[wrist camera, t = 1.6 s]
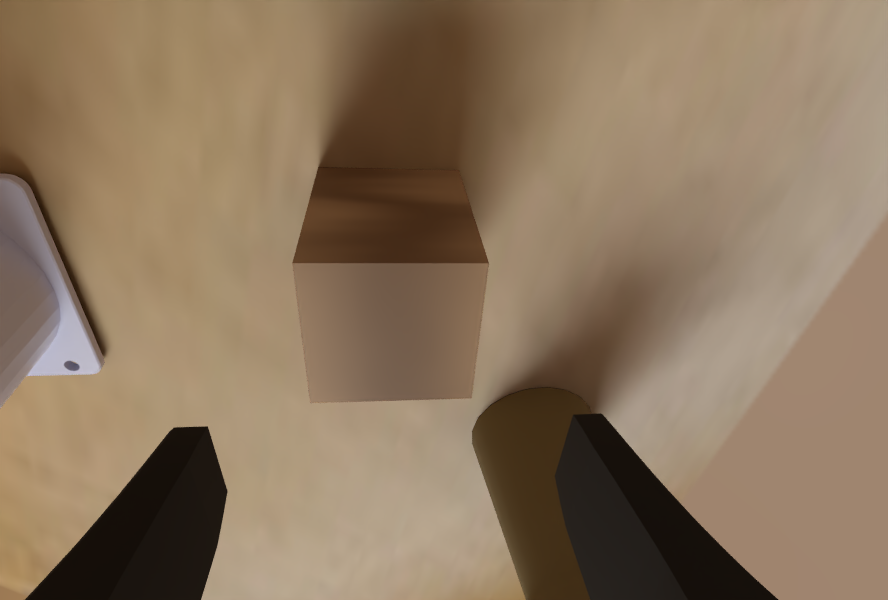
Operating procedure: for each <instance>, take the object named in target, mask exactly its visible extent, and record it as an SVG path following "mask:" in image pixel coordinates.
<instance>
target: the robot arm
mask: <svg viewBox="0 0 888 600" xmlns="http://www.w3.org/2000/svg"><path fill="white" fill-rule="evenodd" d="M72 361H74V362H76V363H78V364H76V363H73V362H72ZM104 363H105V362H104V358H103V356H102V353H101V351H100V348H99V346H98V344H97V341H96V339H95V337H94V334H93V332H92V330H91V327H90V325H89V323H88V320H87V318H86V316H85V313H84V311H83V309H82V306H81V304H80V302H79V299H78V297H77V295H76V292H75V290H74V288H73V285H72V283H71V281H70V278H69V276H68V274H67V271H66V269H65V267H64V264H63V262H62V260H61V257H60V255H59V253H58V250H57V248H56V246H55V243H54V241H53V239H52V236H51V234H50V232H49V229H48V227H47V225H46V222H45V220H44V218H43V215H42V213H41V210H40V208H39V206H38V203H37V201H36V199H35V196H34V194H33V192H32V189H31V188H30V186H29V185H28V183H26V182H25V181H24V180H23V179H22V178H19V177H17V176H15V175H11V174H0V408H1V407H2V406H3V404H4V403H5V402H6V401H7V399H8V398H9V397H10V396H11V394H12V393H13V392H14V391H15V389H16V388H17V387H18V386H19V384H20V383H21V382H22V381H23V379H24V378H25V377H26V376H40V375H85V374H96V373H98V372H99V371H100V370H101V368H102V367H103V365H104ZM555 480H556V485H557V490H558V495H559V500H560V505H561V509H562V513H563V518H564V522H565V526H566V529H567V532H568V535H569V538H570V541H571V544H572V547H573V550H574V553H575V556H576V559H577V562H578V565H579V568H580V571H581V574H582V577H583V580H584V583H585V586H586V589H587V592H588V595H589V597H590V600H778V599H777V598H776V597H775V596H773V595H772V594H771V593H770V592H769V591H768V590H767V589H766V588H765V587H764V586H762V585H761V584H760V583H759V582H758V581H757V580H756V579H755V578H754V577H753V576H752V575H750V574H749V573H748V572H747V571H746V570H745V569H744V568H743V567H742V566H741V565H740V564H739V563H738V562H737V561H736V560H735V559H734V558H733V557H732V556H730V554H728V552H726V550H725V549H724V548H723V547H722V546H720V544H719V543H718V542H717V541H716V540H715V539H714V538H713V537H712V536H711V535H710V534H709V533H708V532H707V531H706V530H705V529H704V528H703V527H702V526H701V525H700V524H699V523H698V522H697V521H696V520H695V519H694V518H693V517H692V516H691V515H690V513H689V512H688V511H687V510H686V509H685V508H684V507H683V506H682V505H681V504H680V503H679V501H678V500H677V499H676V498H675V497H674V496H673V495H672V494H671V493H670V492H669V491H668V489H667V488H666V487H665V486H664V485H663V484H662V483H661V482H660V481H659V479H658V478H657V477H656V476H655V475H654V474H653V473H652V472H651V470H650V469H649V468H648V467H647V466H646V465H645V463H644V462H643V461H642V460H641V459H640V458H639V456H638V455H637V454H636V453H635V452H634V451H633V449H632V448H631V447H630V446H629V445H628V444H627V442H626V441H625V440H624V439H623V438H622V437H621V435H620V434H619V433H618V432H617V431H616V429H615V428H614V427H613V426H612V425H611V424H610V422H609V421H608V420H607V419H606V418H605V417H604V416H603V415H602V414H573V417H572V420H571V423H570V427H569V430H568V433H567V437H566V440H565V443H564V447H563V450H562V453H561V457H560V460H559V463H558V467H557V470H556V473H555ZM226 496H227V488H226V485H225V482H224V479H223V475H222V472H221V469H220V465H219V462H218V459H217V455H216V452H215V449H214V446H213V442H212V439H211V436H210V432H209V429H208V427H177V428H173V429H172V430H171V431H170V432H169V433H168V434H167V435H166V437H165V438H164V439H163V440H162V442H161V443H160V444H159V445H158V447H157V448H156V449H155V451H154V452H153V453H152V454H151V456H150V457H149V458H148V459H147V461H146V462H145V463H144V464H143V466H142V467H141V468H140V469H139V471H138V472H137V473H136V474H135V475H134V477H133V478H132V479H131V480H130V482H129V483H128V484H127V485H126V486H125V488H124V489H123V490H122V491H121V493H120V494H119V495H118V496H117V497H116V499H115V500H114V501H113V502H112V503H111V504H110V506H109V507H108V508H107V509H106V510H105V511H104V513H103V514H102V515H101V516H100V517H99V518H98V520H97V521H96V522H95V523H94V524H93V525H92V527H91V528H90V529H89V530H88V531H87V532H86V534H85V535H84V536H83V537H82V538H81V539H80V540H79V542H78V543H77V544H76V545H75V546H74V547H73V548H72V549H71V551H70V552H69V553H68V554H67V555H66V556H65V557H64V558H63V559H62V560H61V561H60V562H59V564H58V565H57V566H56V567H55V568H54V569H53V570H52V571H51V572H50V573H49V574H48V575H47V577H46V578H45V579H44V580H43V581H42V582H41V583H40V584H39V585H38V586H37V587H36V588H35V589H34V591H33V592H32V593H31V594H30V595H29V596H28V597H27V598H26V599H25V600H201V598H202V594H203V591H204V588H205V585H206V581H207V578H208V575H209V572H210V568H211V565H212V562H213V558H214V555H215V551H216V548H217V544H218V539H219V534H220V529H221V524H222V519H223V513H224V508H225V502H226Z"/></svg>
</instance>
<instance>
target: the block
mask: <svg viewBox="0 0 888 600" xmlns="http://www.w3.org/2000/svg"><path fill="white" fill-rule="evenodd" d="M488 267H489V262H488V259H487V256H486V253H485V250H484V247H483V244H482V240H481V237H480V234H479V231H478V228H477V225H476V222H475V219H474V216H473V213H472V209H471V206H470V203H469V200H468V197H467V194H466V191H465V188H464V185H463V182H462V179H461V175H460V172H459V170H422V169H376V168H330V167H318V170H317V174H316V178H315V181H314V185H313V189H312V192H311V196H310V200H309V204H308V207H307V211H306V215H305V219H304V222H303V226H302V230H301V233H300V237H299V241H298V245H297V248H296V252H295V256H294V259H293V271H294V279H295V287H296V295H297V303H298V311H299V318H300V326H301V334H302V342H303V350H304V358H305V366H306V374H307V381H308V389H309V397H310V403H328V402H362V401H396V400H429V399H463V398H472V390H473V382H474V375H475V367H476V359H477V352H478V344H479V336H480V328H481V321H482V313H483V305H484V298H485V290H486V282H487V274H488Z"/></svg>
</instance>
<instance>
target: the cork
mask: <svg viewBox="0 0 888 600" xmlns="http://www.w3.org/2000/svg"><path fill="white" fill-rule="evenodd" d="M573 414H591V411H590V408H589V406H588V405H587V404H586V403H585V402H584V401H583V400H582V399H581V397H579V396H577V395H575V394H573V393H571V392H568V391H566V390H562V389H555V388H548V387H545V388H535V389H526V390H523V391H520V392H517V393H514V394H510V395H507V396H505V397H504V398H502V399H500V400H499V401H497V402H495V403H494V404H492V405H490V406H489V407H488V408H487V409H486V410H485V412H484V413H483V414H482V415H481V416H480V417H479V418H478V420H477V422H476V424H475V426H474V428H473V431H472V444H473V447H474V450H475V453H476V456H477V459H478V462H479V464H480V467H481V470H482V473H483V476H484V479H485V482H486V485H487V488H488V491H489V494H490V496H491V499H492V502H493V505H494V508H495V511H496V514H497V517H498V520H499V523H500V525H501V528H502V531H503V534H504V537H505V540H506V543H507V546H508V549H509V552H510V555H511V557H512V560H513V563H514V566H515V569H516V572H517V575H518V578H519V581H520V584H521V587H522V589H523V592H524V595H525V598H526V600H590V597H589V595H588V592H587V589H586V586H585V583H584V580H583V577H582V574H581V571H580V568H579V565H578V562H577V559H576V556H575V553H574V550H573V547H572V544H571V541H570V538H569V535H568V532H567V529H566V526H565V522H564V518H563V513H562V509H561V505H560V500H559V495H558V490H557V485H556V480H555V473H556V470H557V467H558V463H559V460H560V457H561V453H562V450H563V447H564V443H565V440H566V437H567V433H568V430H569V427H570V423H571V420H572V417H573Z"/></svg>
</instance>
